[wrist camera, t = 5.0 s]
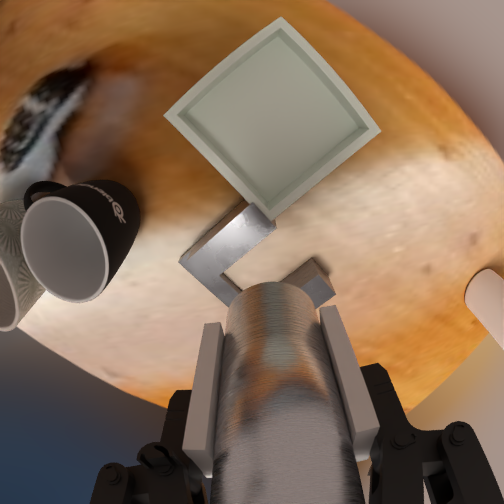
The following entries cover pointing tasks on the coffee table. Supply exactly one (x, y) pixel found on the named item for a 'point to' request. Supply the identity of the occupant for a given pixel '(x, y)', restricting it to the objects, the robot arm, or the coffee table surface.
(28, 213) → the mug
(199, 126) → the tray
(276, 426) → the pin
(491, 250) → the coffee table surface
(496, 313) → the can
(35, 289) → the planter
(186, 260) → the hitch clevis
